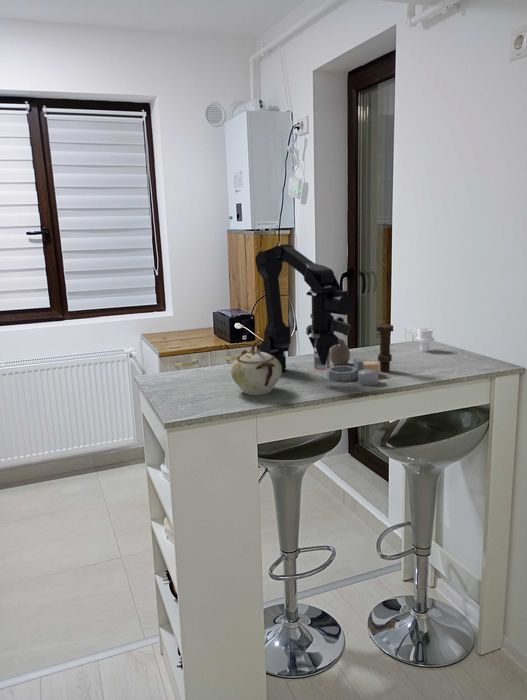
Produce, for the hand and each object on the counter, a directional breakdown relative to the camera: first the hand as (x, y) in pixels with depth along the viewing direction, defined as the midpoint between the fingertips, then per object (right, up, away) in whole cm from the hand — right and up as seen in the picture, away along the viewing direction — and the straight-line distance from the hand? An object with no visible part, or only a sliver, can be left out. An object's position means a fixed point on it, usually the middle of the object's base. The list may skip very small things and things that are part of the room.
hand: (321, 362), depth 177 cm
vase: (+9, -1, +25) cm, 27 cm away
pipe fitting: (+42, +3, +41) cm, 59 cm away
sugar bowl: (-19, -9, -3) cm, 21 cm away
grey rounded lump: (+14, -6, +2) cm, 16 cm away
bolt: (+22, -3, +15) cm, 26 cm away
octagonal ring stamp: (+11, -4, +9) cm, 15 cm away
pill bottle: (0, -2, 0) cm, 2 cm away
